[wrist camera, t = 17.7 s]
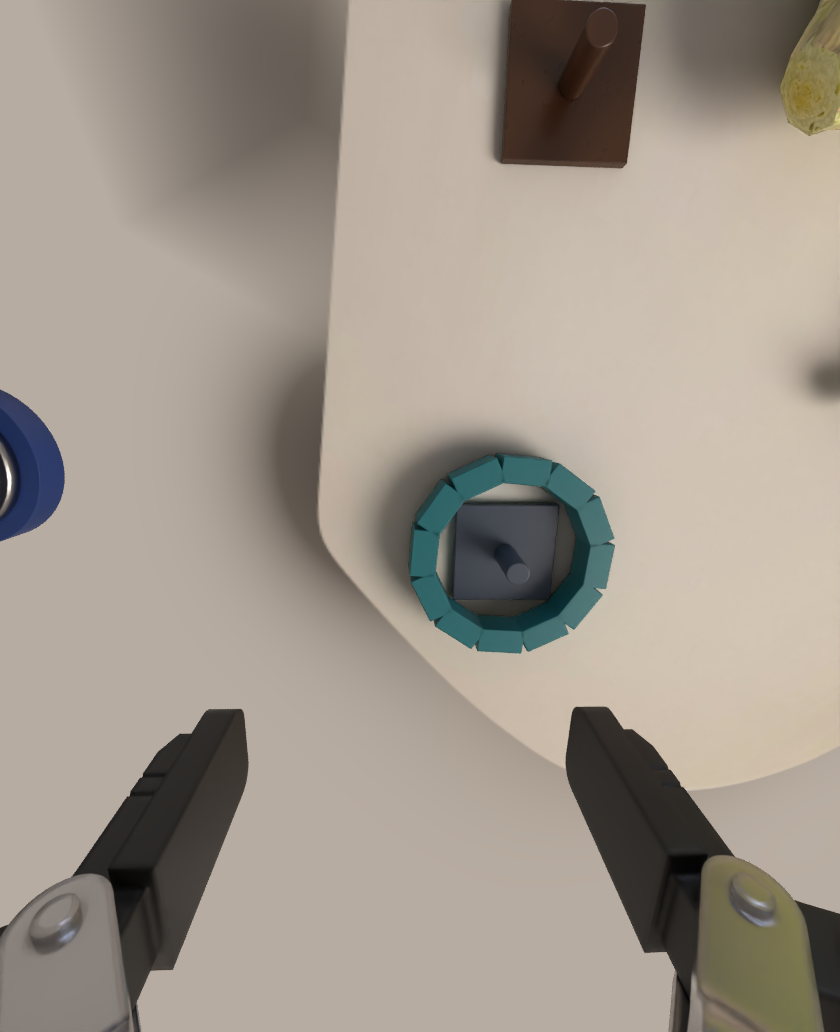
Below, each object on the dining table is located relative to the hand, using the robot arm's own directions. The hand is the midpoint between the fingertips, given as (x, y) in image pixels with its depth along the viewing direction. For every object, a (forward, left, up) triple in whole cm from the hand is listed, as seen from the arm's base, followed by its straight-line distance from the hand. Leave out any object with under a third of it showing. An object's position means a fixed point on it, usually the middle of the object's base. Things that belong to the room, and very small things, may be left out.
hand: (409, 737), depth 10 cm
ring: (+8, -3, -22) cm, 23 cm away
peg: (+8, -3, -22) cm, 24 cm away
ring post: (+10, +26, -22) cm, 35 cm away
